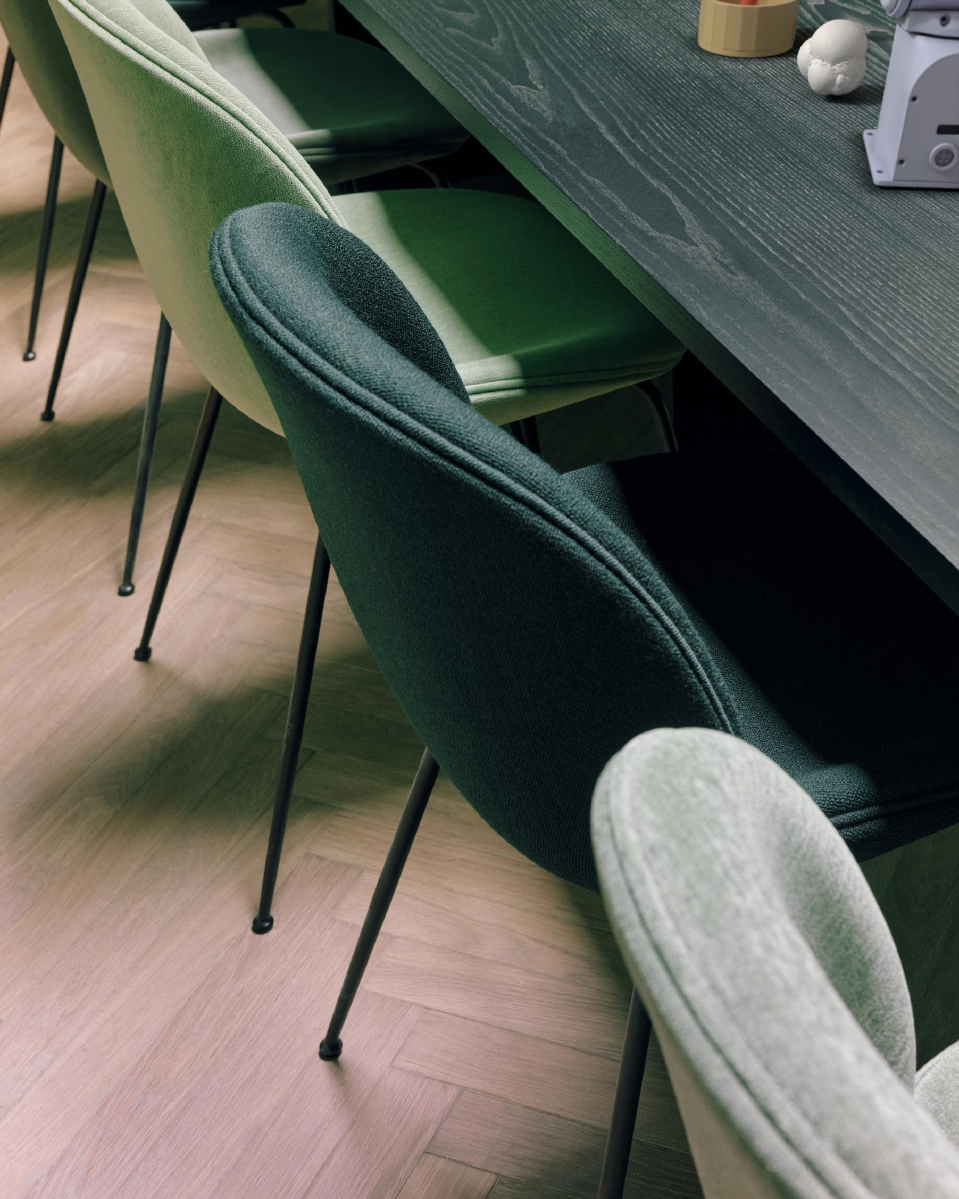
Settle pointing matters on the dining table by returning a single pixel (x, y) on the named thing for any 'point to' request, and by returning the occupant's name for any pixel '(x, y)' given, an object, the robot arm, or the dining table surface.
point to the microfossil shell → (834, 58)
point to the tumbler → (747, 27)
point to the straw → (749, 2)
